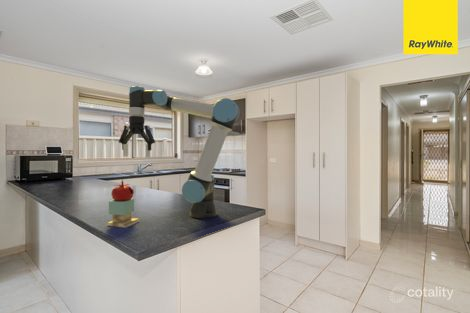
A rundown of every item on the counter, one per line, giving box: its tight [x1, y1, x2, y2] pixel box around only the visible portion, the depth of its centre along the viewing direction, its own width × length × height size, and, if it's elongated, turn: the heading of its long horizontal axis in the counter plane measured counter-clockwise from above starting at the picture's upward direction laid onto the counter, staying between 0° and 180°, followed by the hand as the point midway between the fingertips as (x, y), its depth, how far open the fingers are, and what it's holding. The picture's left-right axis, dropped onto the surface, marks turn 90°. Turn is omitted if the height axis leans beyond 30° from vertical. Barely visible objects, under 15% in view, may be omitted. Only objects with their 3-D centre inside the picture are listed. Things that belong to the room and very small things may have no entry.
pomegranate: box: [111, 180, 135, 201], centre depth 120 cm, size 10×10×9 cm
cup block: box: [108, 198, 135, 215], centre depth 120 cm, size 8×8×6 cm
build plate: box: [107, 212, 140, 228], centre depth 120 cm, size 10×10×6 cm
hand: (136, 156), depth 130 cm, fingers open, 13 cm apart
